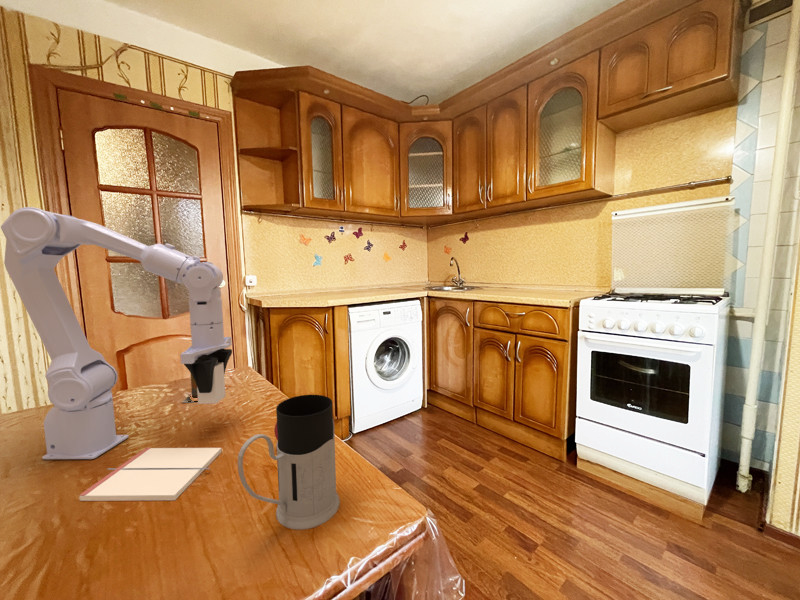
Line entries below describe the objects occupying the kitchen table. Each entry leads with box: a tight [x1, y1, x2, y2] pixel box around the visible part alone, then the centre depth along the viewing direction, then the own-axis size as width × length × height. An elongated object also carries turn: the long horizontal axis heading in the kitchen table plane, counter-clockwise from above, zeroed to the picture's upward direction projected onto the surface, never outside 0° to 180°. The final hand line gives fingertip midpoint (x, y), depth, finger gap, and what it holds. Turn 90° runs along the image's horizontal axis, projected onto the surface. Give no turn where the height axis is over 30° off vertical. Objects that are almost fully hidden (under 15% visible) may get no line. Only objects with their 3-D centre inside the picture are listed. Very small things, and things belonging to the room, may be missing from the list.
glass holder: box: [237, 394, 341, 531], centre depth 45 cm, size 9×14×15 cm, turn 146°
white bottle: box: [197, 357, 226, 405], centre depth 69 cm, size 4×4×9 cm
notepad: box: [78, 447, 223, 502], centre depth 56 cm, size 17×13×1 cm
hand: (211, 388), depth 69 cm, fingers closed on white bottle, 4 cm apart
